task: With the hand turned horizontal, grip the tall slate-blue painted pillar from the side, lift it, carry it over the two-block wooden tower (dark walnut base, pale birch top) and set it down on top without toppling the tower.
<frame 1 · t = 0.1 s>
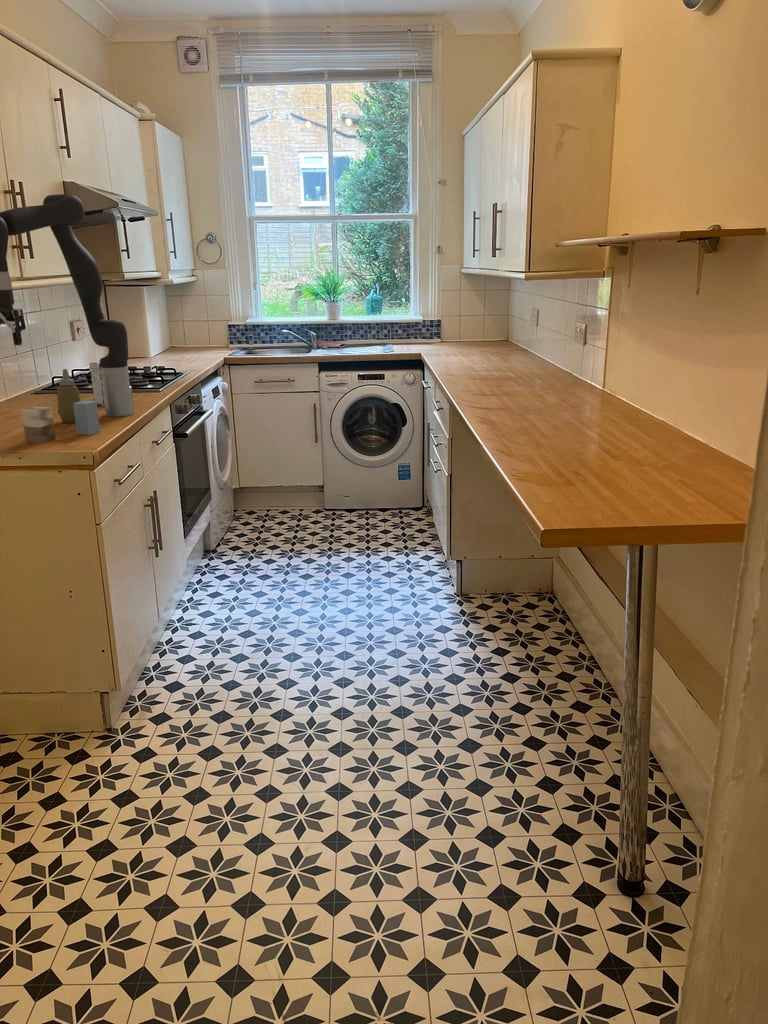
hand: (7, 344, 230), 29 cm above the countertop, tool pointing down, fingers open, 8 cm apart
squeeze bottle: (71, 422, 267), on the countertop
pillar: (88, 433, 248), on the countertop
tower top: (38, 424, 237), point 5 cm above the countertop, touching tower base
tower base: (41, 440, 238), on the countertop, touching tower top
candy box: (113, 403, 302), on the countertop
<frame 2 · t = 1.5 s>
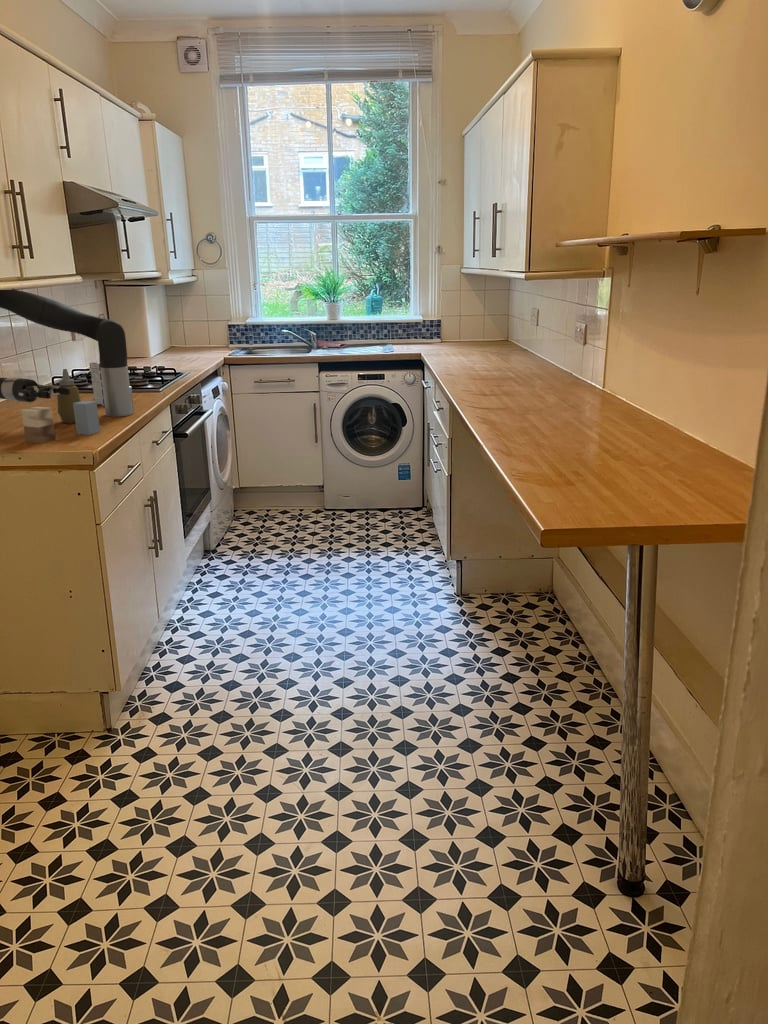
hand: (59, 393, 248), 12 cm above the countertop, tool horizontal, fingers open, 8 cm apart
nothing on the countertop moved.
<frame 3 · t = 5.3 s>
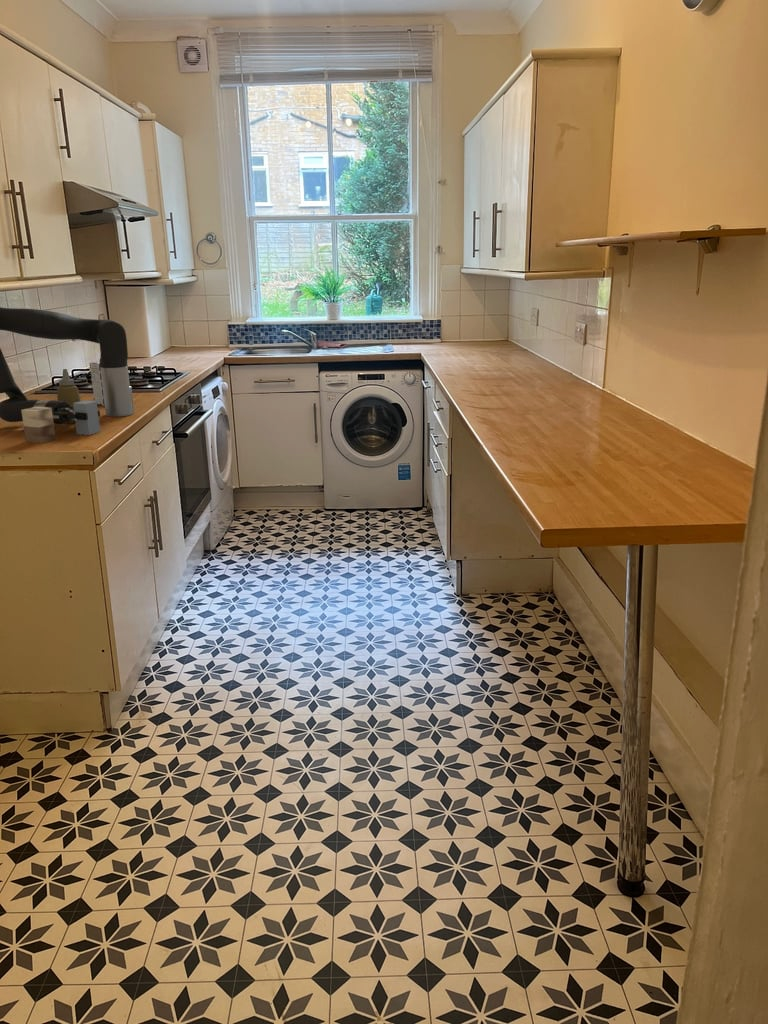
hand: (92, 415, 246), 6 cm above the countertop, tool horizontal, fingers closed on pillar, 5 cm apart
pillar: (88, 433, 248), on the countertop, touching gripper
everything else where it was.
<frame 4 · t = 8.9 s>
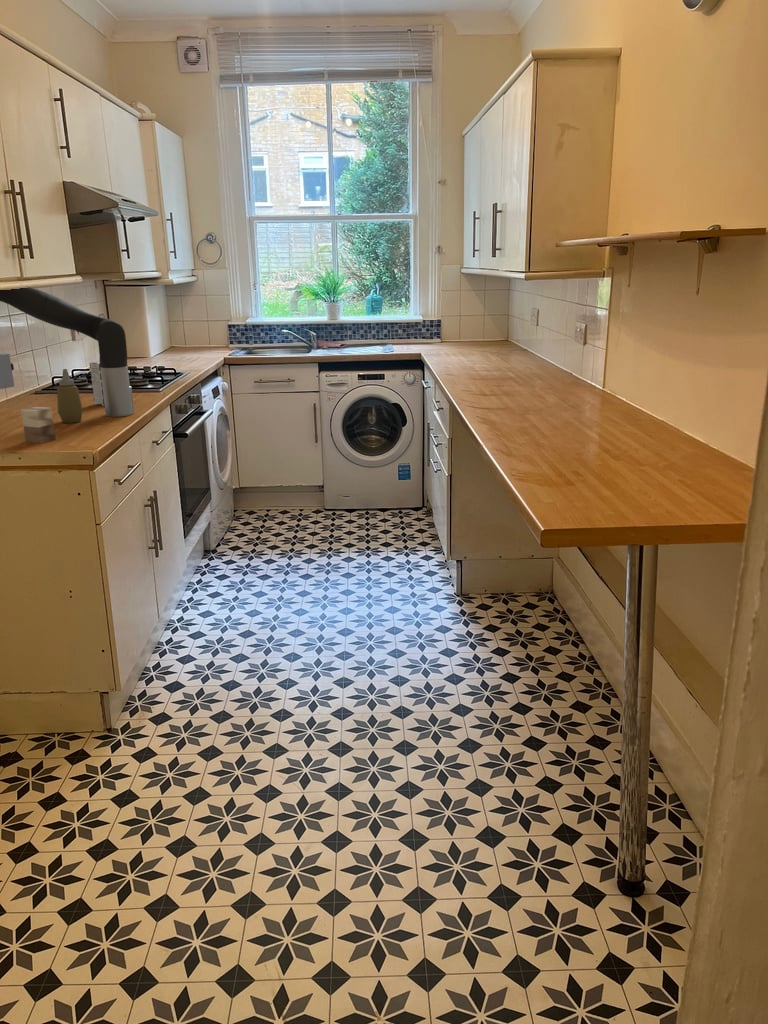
hand: (5, 367, 235), 22 cm above the countertop, tool horizontal, fingers closed on pillar, 5 cm apart
pillar: (1, 387, 238), point 16 cm above the countertop, touching gripper
everything else where it was.
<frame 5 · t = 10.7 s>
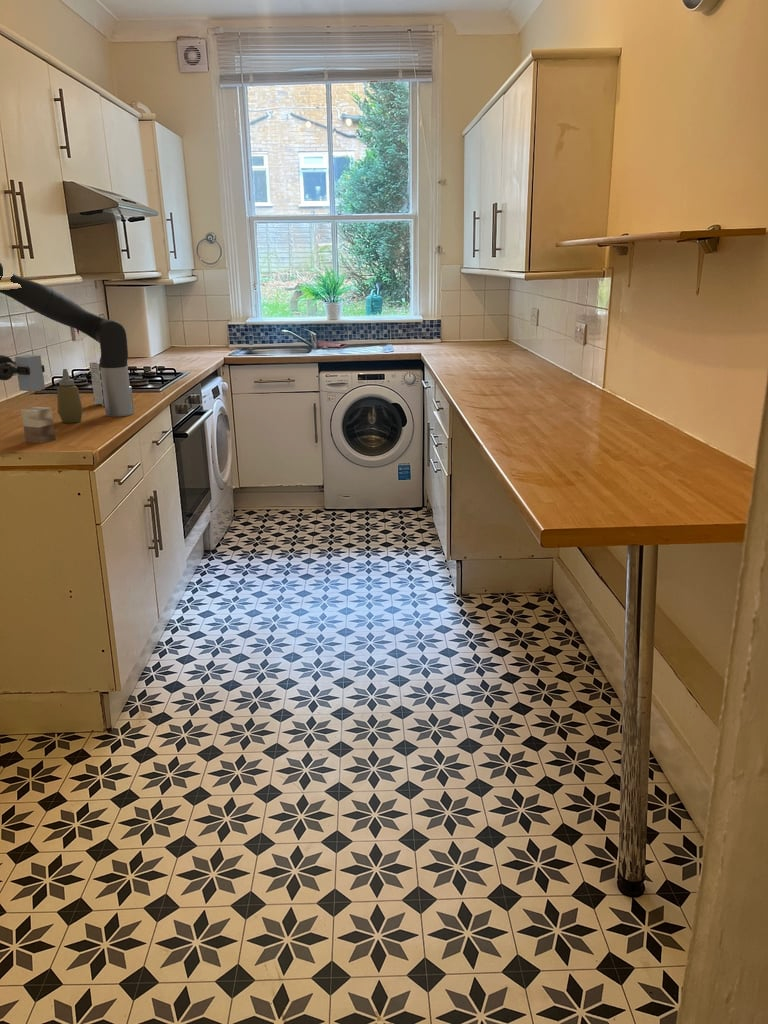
hand: (36, 369, 231), 22 cm above the countertop, tool horizontal, fingers closed on pillar, 5 cm apart
pillar: (32, 389, 233), point 16 cm above the countertop, touching gripper
everything else where it was.
when the fingers open (17 cm above the countertop, at t = 12.5 s): pillar stays where it is, resting on tower top.
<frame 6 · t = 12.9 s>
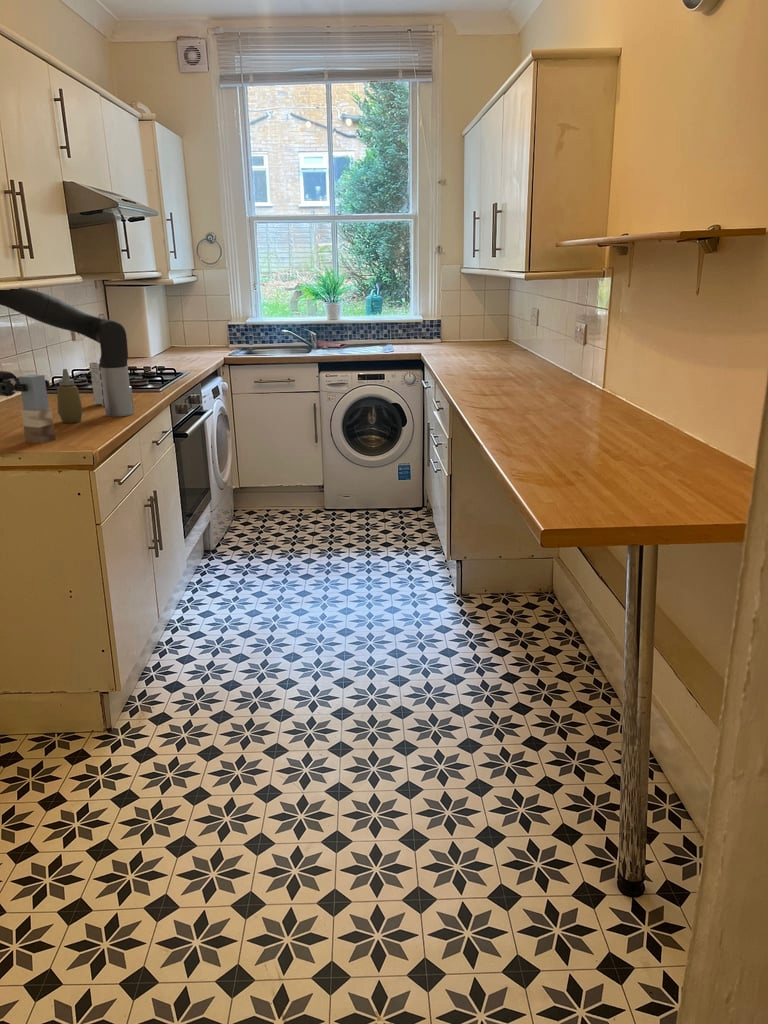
hand: (37, 385, 232), 17 cm above the countertop, tool horizontal, fingers open, 8 cm apart
pillar: (36, 408, 235), point 10 cm above the countertop, touching tower top
tower top: (38, 425, 237), point 5 cm above the countertop, touching pillar, tower base
everything else where it was.
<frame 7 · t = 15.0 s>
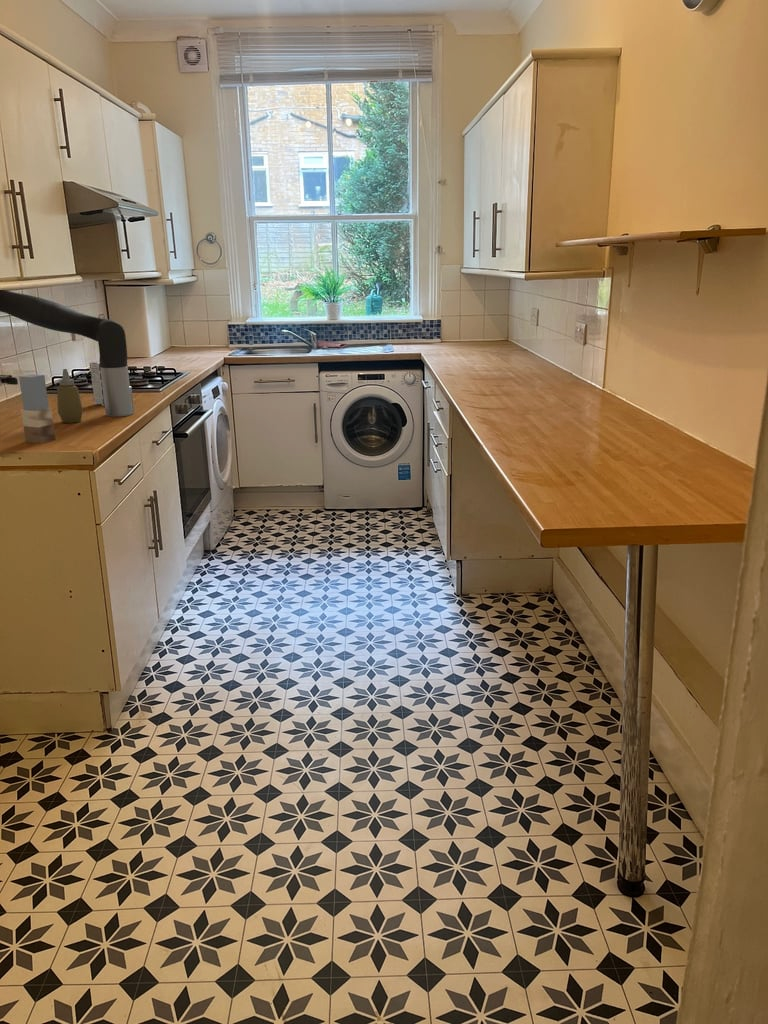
hand: (5, 383, 237), 17 cm above the countertop, tool horizontal, fingers open, 8 cm apart
nothing on the countertop moved.
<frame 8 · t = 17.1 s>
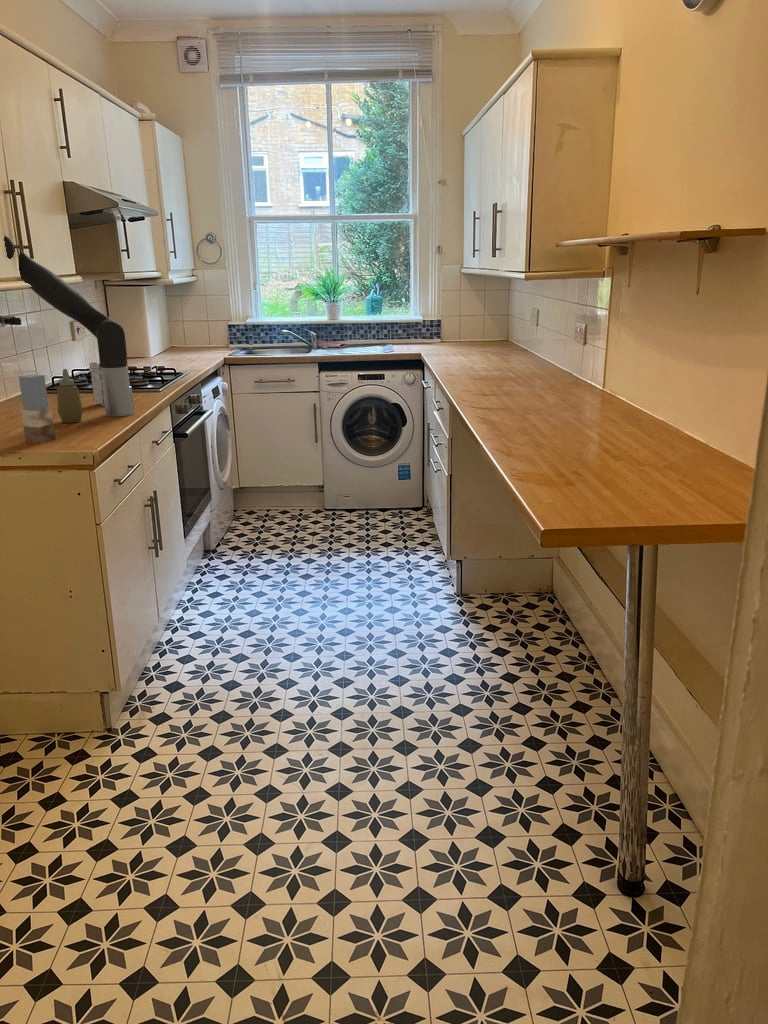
hand: (9, 322, 236), 35 cm above the countertop, tool horizontal, fingers open, 8 cm apart
nothing on the countertop moved.
at the end: pillar 0.0 cm off-centre on the tower base, point 10.0 cm above the tower base's base; pillar tilted 0°; tower top moved 0.2 cm from its start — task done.
